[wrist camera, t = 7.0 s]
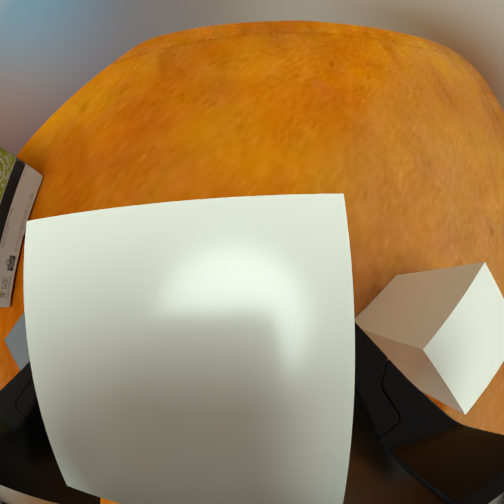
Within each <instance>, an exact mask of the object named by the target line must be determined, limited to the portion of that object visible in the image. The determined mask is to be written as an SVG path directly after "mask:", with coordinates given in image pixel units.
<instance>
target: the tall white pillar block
mask: <svg viewBox="0 0 504 504" xmlns="http://www.w3.org/2000/svg"><path fill="white" fill-rule="evenodd" d="M354 321H355V322H356V323H357V324H358V326H359V327H360V328H361V329H362V330H363V331H364V332H365V333H366V334H367V335H368V336H369V337H370V338H371V340H372V341H373V342H374V343H375V344H376V345H377V346H378V347H379V348H380V349H381V350H382V352H383V353H384V354H385V355H386V356H387V357H388V359H390V360H391V361H392V362H393V364H394V365H395V366H396V367H397V368H398V369H399V370H400V371H401V372H402V373H403V374H404V375H405V376H406V377H407V378H408V379H409V380H410V381H411V382H412V383H413V384H414V385H415V386H416V387H417V388H418V389H419V390H421V391H422V392H424V393H426V394H428V395H430V396H432V397H433V398H435V399H437V400H439V401H441V402H443V403H444V404H446V405H448V406H450V407H452V408H454V409H456V410H457V411H459V412H461V413H463V414H466V413H467V412H468V411H469V409H470V408H471V407H472V406H473V404H474V403H475V402H476V400H477V399H478V398H479V396H480V395H481V394H482V392H483V391H484V390H485V388H486V387H487V385H488V384H489V383H490V381H491V380H492V378H493V377H494V375H495V374H496V372H497V371H498V369H499V367H500V366H501V364H502V363H503V361H504V299H503V297H502V294H501V292H500V290H499V288H498V286H497V284H496V282H495V280H494V278H493V277H492V275H491V273H490V271H489V269H488V267H487V265H486V264H485V262H482V263H476V264H470V265H463V266H457V267H450V268H443V269H436V270H429V271H422V272H415V273H407V274H399V275H396V276H395V277H394V278H393V279H392V280H391V281H390V282H389V283H388V285H387V286H386V287H385V288H384V289H383V290H382V291H381V292H380V293H379V294H378V295H377V296H376V298H375V299H374V300H373V301H372V302H371V303H370V304H369V305H368V306H367V307H366V308H365V309H364V310H363V311H362V312H361V313H360V314H359V315H358V316H357V317H356V318H355V319H354Z"/></svg>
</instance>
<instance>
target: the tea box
mask: <svg viewBox="0 0 504 504" xmlns="http://www.w3.org/2000/svg"><path fill="white" fill-rule="evenodd" d="M42 179H43V176H42V175H41V174H40V173H38V172H37V171H36V170H34V169H33V168H31V167H30V166H28V165H27V164H25V163H24V162H23V161H21V160H20V159H18V158H17V157H15V156H13V155H11V154H10V153H9V152H7V151H6V150H4V149H3V148H1V147H0V307H9V306H10V304H11V293H12V288H13V281H14V275H15V270H16V266H17V261H18V257H19V252H20V247H21V243H22V239H23V236H24V233H25V229H26V223H27V221H28V218H29V215H30V212H31V209H32V206H33V203H34V201H35V198H36V195H37V192H38V190H39V187H40V185H41V182H42Z"/></svg>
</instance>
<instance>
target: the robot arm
mask: <svg viewBox="0 0 504 504" xmlns="http://www.w3.org/2000/svg"><path fill="white" fill-rule="evenodd" d="M0 504H100V497H98V496H95V495H92V494H89V493H86V492H83V491H80V490H77V489H75V488H72V487H69V486H67V484H66V482H65V480H64V478H63V475H62V473H61V471H60V468H59V466H58V463H57V461H56V458H55V455H54V453H53V450H52V447H51V444H50V441H49V438H48V435H47V432H46V429H45V425H44V422H43V418H42V415H41V411H40V407H39V403H38V399H37V395H36V390H35V386H34V381H33V376H32V370H31V364H30V361H29V362H28V363H27V364H26V365H25V366H24V367H23V369H22V370H21V371H20V372H19V373H18V374H17V375H16V376H15V377H14V378H13V379H12V380H11V381H10V382H9V383H8V384H7V385H6V386H5V387H4V388H3V389H2V390H1V391H0ZM343 504H504V435H502V434H497V433H493V432H488V431H484V430H480V429H476V428H472V427H469V426H465V425H463V424H461V423H459V422H457V421H455V420H454V419H452V418H451V417H450V416H448V415H447V414H446V413H445V412H444V411H443V410H441V409H440V408H439V407H438V406H437V405H436V404H435V403H434V402H433V401H431V400H430V399H429V398H428V397H427V396H426V395H425V394H424V393H422V392H421V391H420V390H419V389H418V388H417V387H416V386H415V385H414V384H413V383H412V382H411V381H410V380H409V379H408V378H407V377H406V376H405V375H404V374H403V373H402V372H401V371H400V370H399V369H398V368H397V367H396V366H395V365H394V364H393V362H392V361H391V360H390V359H388V357H387V356H386V355H385V354H384V353H383V352H382V350H381V349H380V348H379V347H378V346H377V345H376V344H375V343H374V342H373V341H372V340H371V338H370V337H369V336H368V335H367V334H366V333H365V332H364V331H363V330H362V329H361V328H360V327H359V326H358V324H357V323H356V322H355V385H354V408H353V424H352V437H351V448H350V457H349V466H348V474H347V481H346V488H345V494H344V501H343Z"/></svg>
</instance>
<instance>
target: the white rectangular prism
mask: <svg viewBox="0 0 504 504" xmlns="http://www.w3.org/2000/svg"><path fill="white" fill-rule="evenodd" d="M24 310H25V324H26V334H27V343H28V351H29V358H30V364H31V370H32V376H33V381H34V386H35V390H36V395H37V399H38V403H39V407H40V411H41V415H42V418H43V422H44V425H45V429H46V432H47V435H48V438H49V441H50V444H51V447H52V450H53V453H54V455H55V458H56V461H57V463H58V466H59V468H60V471H61V473H62V475H63V478H64V480H65V482H66V484H67V486H69V487H72V488H75V489H77V490H80V491H83V492H86V493H89V494H92V495H95V496H98V497H101V498H104V499H108V500H111V501H115V502H119V503H123V504H343V501H344V494H345V488H346V481H347V474H348V466H349V457H350V448H351V437H352V424H353V408H354V385H355V321H354V296H353V280H352V266H351V254H350V243H349V234H348V225H347V216H346V209H345V201H344V194H295V195H267V196H246V197H228V198H213V199H199V200H187V201H175V202H164V203H154V204H144V205H135V206H126V207H118V208H110V209H102V210H94V211H87V212H80V213H73V214H67V215H60V216H54V217H48V218H42V219H36V220H30V221H27V223H26V234H25V248H24Z"/></svg>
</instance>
